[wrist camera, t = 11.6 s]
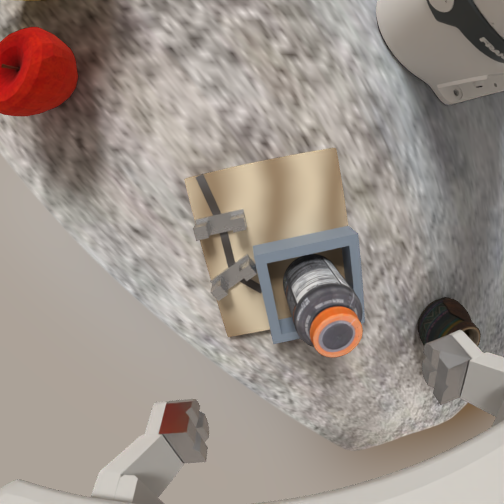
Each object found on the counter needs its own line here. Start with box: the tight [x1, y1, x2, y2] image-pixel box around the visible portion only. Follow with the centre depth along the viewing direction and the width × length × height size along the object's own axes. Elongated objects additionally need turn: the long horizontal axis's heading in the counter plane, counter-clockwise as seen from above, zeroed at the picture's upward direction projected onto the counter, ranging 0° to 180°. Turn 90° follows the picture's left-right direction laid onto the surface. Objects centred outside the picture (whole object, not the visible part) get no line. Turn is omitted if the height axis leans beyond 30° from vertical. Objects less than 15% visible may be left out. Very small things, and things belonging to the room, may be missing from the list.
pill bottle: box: [283, 254, 363, 357], centre depth 28 cm, size 6×6×11 cm
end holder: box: [253, 226, 365, 344], centre depth 32 cm, size 10×10×3 cm
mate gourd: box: [418, 297, 480, 347], centre depth 32 cm, size 7×8×10 cm
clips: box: [193, 209, 257, 301], centre depth 31 cm, size 5×8×2 cm, turn 12°
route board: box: [184, 148, 348, 337], centre depth 33 cm, size 15×18×1 cm
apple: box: [0, 27, 78, 116], centre depth 21 cm, size 9×9×11 cm
